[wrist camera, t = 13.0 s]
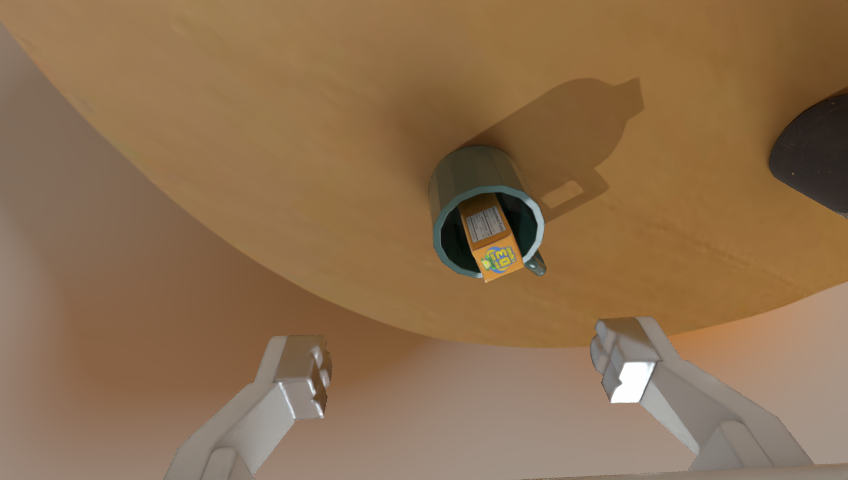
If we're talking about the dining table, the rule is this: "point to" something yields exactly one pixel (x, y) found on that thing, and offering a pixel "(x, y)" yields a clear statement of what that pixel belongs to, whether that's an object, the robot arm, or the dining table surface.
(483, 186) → the teal faceted mug
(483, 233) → the supplement box
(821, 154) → the container
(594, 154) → the dining table surface
